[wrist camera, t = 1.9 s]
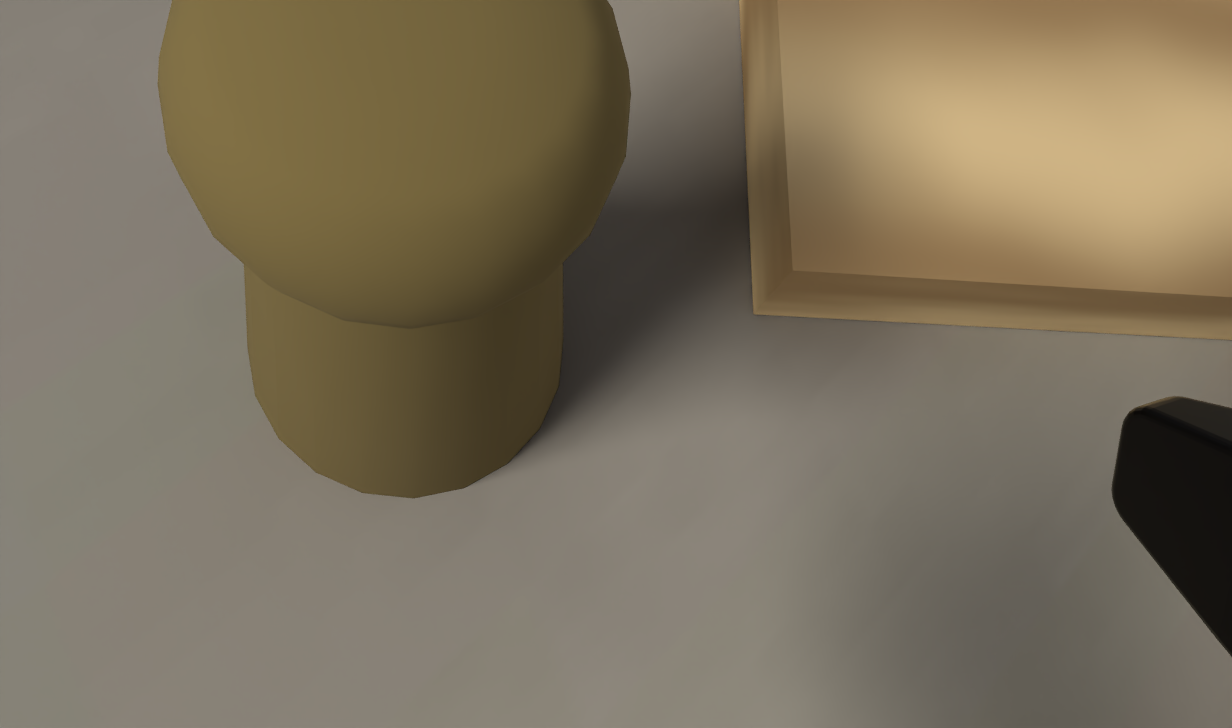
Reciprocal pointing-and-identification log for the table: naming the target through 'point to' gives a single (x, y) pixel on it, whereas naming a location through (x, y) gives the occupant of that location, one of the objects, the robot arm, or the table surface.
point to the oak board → (992, 162)
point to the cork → (399, 212)
